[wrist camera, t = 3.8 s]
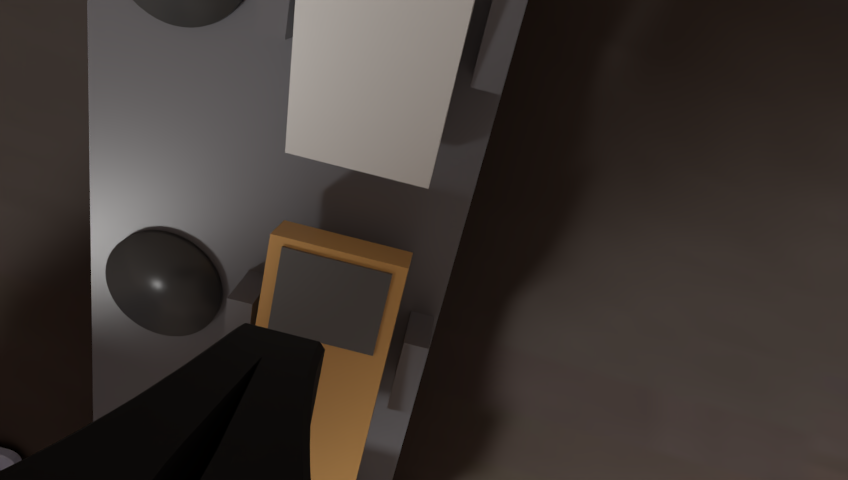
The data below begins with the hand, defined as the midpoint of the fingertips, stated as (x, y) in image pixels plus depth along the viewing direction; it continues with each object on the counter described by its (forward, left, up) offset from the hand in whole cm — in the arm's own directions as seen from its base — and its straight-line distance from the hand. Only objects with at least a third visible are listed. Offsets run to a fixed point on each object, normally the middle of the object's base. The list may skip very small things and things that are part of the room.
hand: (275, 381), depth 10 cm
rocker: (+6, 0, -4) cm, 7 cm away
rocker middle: (-2, 0, -4) cm, 5 cm away
